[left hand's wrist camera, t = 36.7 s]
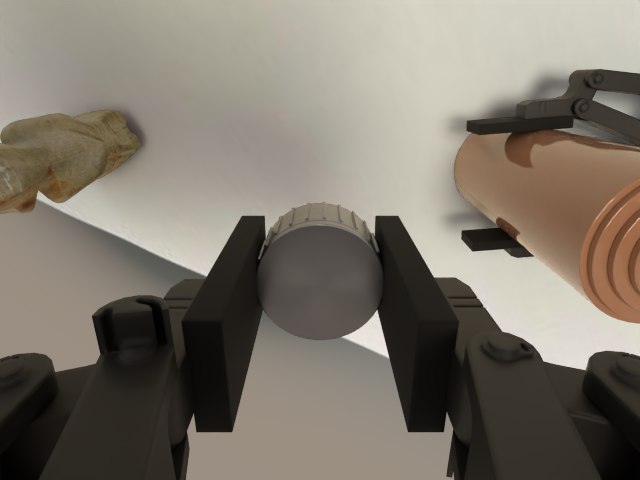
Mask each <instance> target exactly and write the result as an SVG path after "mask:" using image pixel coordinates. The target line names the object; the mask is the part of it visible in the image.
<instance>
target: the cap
mask: <svg viewBox="0 0 640 480" xmlns="http://www.w3.org/2000/svg"><path fill="white" fill-rule="evenodd" d="M379 254H380V251H379V248H378V245H377V243H376V240H375V237H374V234H373V233H371V232H370V230H369V229H368V227H367V224H366V222H365V221H362V220H361V219H360V218H359V217H358V216H356V215H355V212H353V211H352V212H351V211H349V210H347V209H345V208H342V207H341V205H338V206H337V205H333V204H326V203H325V202H323V203H314V204H309V203H307V205H304V206H300V207H298V208H292V211H290V212H288V213H287V214H285V215H284V216H283V217H282V216H280V217H279V220H278V221H277V222H276V224H275V225H274V226H273V228H272V227H271V228H270V230H269V233H268V235H267V238H266V240H264V243H263V246H262V248H261V251H260V254H259V257H258V261H259V263H258V266H257V271H256V279H257V295H258V300H259V302H260V305H261V306H262V308H263V310H264V311H265V313H266V314H267V316H268V317H269V318H270V319H271V320H272V321H273V322H274V323H275V324H276V325H277V326H279V327H280V328H282V329H283V330H285V331H286V332H288V333H290V334H293V335H295V336H298V337H301V338H306V339H312V340H328V339H335V338H339V337H342V336H345V335H348V334H350V333H352V332H354V331H356V330H357V329H359V328H360V327H362V326H363V325H364V324H365V323H366V322H368V320H369V319H370V318H371V317H372V316H373V315H374V313H375V312H376V311H377V309H378V307H379V305H380V303H381V300H382V297H383V284H384V270H383V266H382V263H381V260H380V257H379Z"/></svg>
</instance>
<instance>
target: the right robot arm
mask: <svg viewBox="0 0 640 480" xmlns="http://www.w3.org/2000/svg"><path fill="white" fill-rule="evenodd" d="M569 84H570V85H569V87H568V90H567V91H566V93H565V94H564V95H563V96H560V97H557V98H552V99H540V100H528V101H523V102H521V103H519V104H517V108H516V117H506V118H494V119H482V120H469V121H467V130H466V131H468V132H471V133H474V134H477V135H489V134H501V133H513V132H526V131H538V130H550V129H562V128H573V120H574V119H576V120H578V121H581V122H583V123H586V124H588V125H591V126H593V127H596V128H598V129H601V130H603V131H606V132H608V133H611V134H613V135H616V136H618V137H621V138H623V139H626V140H628V141H629V142H631V143H633V144H636V145H638V146H640V120H639V119H636V118H634V117H632V116H629V115H627V114H624V113H622V112H620V111H617V110H615V109H612V108H610V107H607V106H605V105H603V104H600V103H598V102H595V101H593V100H592V99H593V97H594V95H595V93H596V91H597V90H600V91H609V92H618V93H627V94H636V95H640V74H637V73H628V72H620V71H611V70H603V69H595V70H576V71H574V72H573V73H572V74H571V75H570V77H569ZM461 239H462V240H463V241H464V242H465V243H466V245H467V246H468V247H469V248H470V249H471V250H472V251H484V250H497V249H504V250H505V251H506V252H508V253H509V254H510V255H511V256H513V257H517V258H520V257H533V256H534V255H533V254H531V253H530V252H529V251H528V250H526V249H525V248H524V247H523V246H522V245H520V244H519V243H518V242H517V241H516V240H514V239H513V238H512V237H511V236H509V235H508V234H507V233H506V232H505V231H503V230H502V229H501V228H489V229H476V230H463V231H462V238H461Z"/></svg>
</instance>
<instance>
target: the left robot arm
mask: <svg viewBox="0 0 640 480" xmlns="http://www.w3.org/2000/svg"><path fill="white" fill-rule="evenodd" d="M264 240H266V234H265V216H242V217H241V219H240V220H239V222H238V224H237V226H236V227H235V229H234V231H233V233H232V234H231V236H230V238H229V239H228V241H227V243H226V245H225V246H224V248H223V250H222V252H221V253H220V255H219V257H218V258H217V260H216V262H215V264H214V265H213V267H212V269H211V271H210V272H209V274H208V276H207V277H206V279H184V280H183V281H181V282H180V283H178V284H176V285H175V286H173V287H172V288H171V289H170V290H169V291H168V293H167V294H166V296H165V297H164V299H162V298H160V297H156V296H151V295H138V296H132V297H126V298H122V299H119V300H116V301H113V302H110V303H109V304H107V305H105V306H103V307H101V308H100V309H98V310H97V311H96V312H95V313H94V314H93V316H92V319H93V323H94V328H95V332H96V336H97V341H98V345H99V349H100V356H99V358H98V360H97V362H96V364H93V365H89V366H84V367H79V368H75V369H69V370H64V371H59V372H55V370H54V367H53V363H52V360H51V359H50V358H49V357H48V356H46V355H44V354H38V353H26V354H16V355H12V356H8V357H4V358H1V359H0V480H186V473H187V465H188V457H189V442H188V435H187V429H188V427H189V424H190V421H191V419H192V416H193V413H194V417H195V425H196V432H232V431H233V427H234V423H235V419H236V415H237V411H238V407H239V403H240V399H241V395H242V391H243V387H244V383H245V379H246V375H247V371H248V367H249V363H250V359H251V355H252V351H253V347H254V343H255V339H256V335H257V331H258V327H259V323H260V319H261V315H262V311H263V308H262V306H261V305H260V302H259V300H258V295H257V279H256V271H257V266H258V263H259V261H258V257H259V254H260V251H261V248H262V246H263V243H264ZM375 240H376V243H377V245H378V248H379V251H380V254H379V257H380V260H381V263H382V266H383V270H384V284H383V297H382V300H381V303H380V305H379V307H378V309H377V310H378V314H379V318H380V322H381V326H382V330H383V334H384V338H385V342H386V346H387V350H388V354H389V358H390V362H391V366H392V370H393V374H394V378H395V382H396V386H397V390H398V393H399V398H400V402H401V406H402V410H403V414H404V418H405V422H406V426H407V430H408V432H444V427H445V420H446V412H447V413H448V416H449V418H450V421H451V423H452V426H453V435H452V442H451V449H450V455H449V462H448V469H447V477H452V475H453V472H454V480H640V356H637V355H633V354H629V353H625V352H614V351H603V352H598V353H595V354H593V355H592V356H591V357H590V358H589V361H588V364H587V368H586V370H581V369H576V368H571V367H565V366H560V365H555V364H551V363H547V362H543V360H542V358H541V356H540V354H539V352H538V351H537V350H536V349H535V348H534V346H533V345H531V344H530V343H528V342H527V341H525V340H524V339H522V338H520V337H517V336H515V335H512V334H510V333H505V332H502V331H501V329H500V328H499V326H498V325H497V324H496V322H495V321H494V320H493V318H492V317H491V315H490V314H489V313H488V311H487V310H486V309H485V308H483V304H482V303H481V302H480V300H479V299H477V296H476V295H475V293H474V292H473V291H472V289H471V288H470V287H469V286H468V285H466V284H465V283H463V282H462V281H460V280H458V279H457V278H434V277H433V275H432V273H431V272H430V270H429V268H428V267H427V265H426V263H425V261H424V260H423V258H422V256H421V254H420V253H419V251H418V249H417V248H416V246H415V244H414V242H413V241H412V239H411V237H410V235H409V234H408V232H407V230H406V229H405V227H404V225H403V223H402V222H401V220H400V218H399V216H376V220H375Z"/></svg>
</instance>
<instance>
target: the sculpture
mask: <svg viewBox="0 0 640 480" xmlns="http://www.w3.org/2000/svg"><path fill="white" fill-rule="evenodd" d="M126 124H127V120H126V119H125V118H124V116H123V115H122V114H121V112H120V111H113V110H103V111H94V112H89V113H85V114H82V115H79V116H76V117H74V118H73V117H70V116H67V115H65V114H60V113H57V114H49V115H45V116H40V117H35V118H29V119H23V120H19V121H15V122H13V123H10V124H9V125H7V126H6V127H5V128H4V129H3V130H2V132H1V135H0V138H1V141H2V143H0V214H4V213H10V212H19V213H28V212H31V211H32V210H33V209H34V207H35V203H36V197H37V193H38V190H39V191H40V192H41V193H43V194H44V195H45V196H46V197H47V198H49V199H50V200H52V201H54V202H56V203H63V202H65V201H67V200H68V199H70V198H71V197H72V196H74V195H75V194H77V193H78V192H79V191H81V190H82V189H83V188H85V187H86V186H88V185H89V184H91V183H92V182H94V181H95V180H96V179H99V178H101V177H103V176H105V175H107V174H108V173H110V172H111V171H113V170H114V169H116V168H117V167H118V166H120V165H121V164H122V163H124V162H125V161H126V160H127V159H128V158H129V157H130V156H131V155H132V154H133V153H135V152H136V151H137V150H138V149H139V148H140V147H141V145H140V142H139V140H138V138H137V137H136V135H135V134H134V133H131V132H130V131H129V129H128V127H127V126H126Z"/></svg>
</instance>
